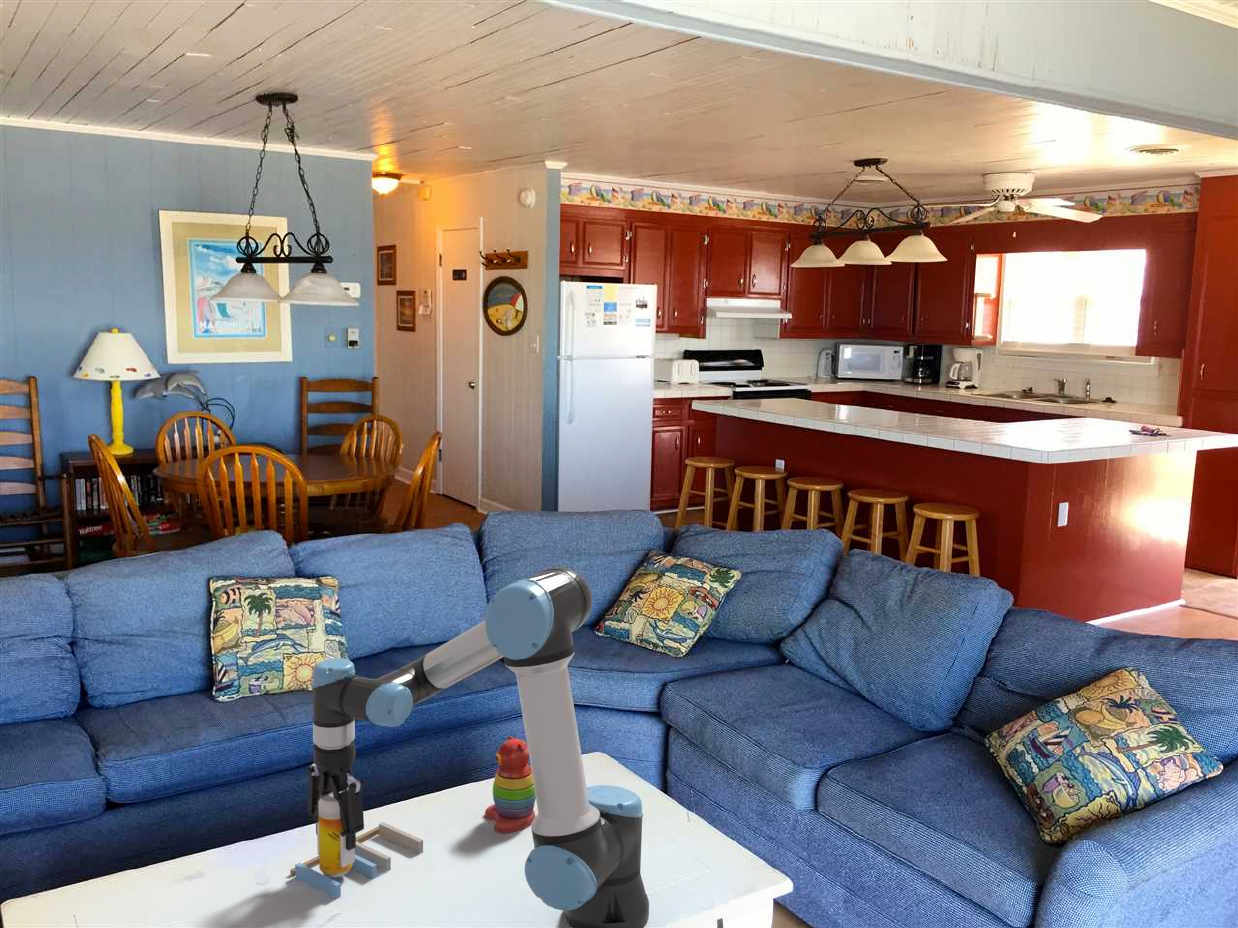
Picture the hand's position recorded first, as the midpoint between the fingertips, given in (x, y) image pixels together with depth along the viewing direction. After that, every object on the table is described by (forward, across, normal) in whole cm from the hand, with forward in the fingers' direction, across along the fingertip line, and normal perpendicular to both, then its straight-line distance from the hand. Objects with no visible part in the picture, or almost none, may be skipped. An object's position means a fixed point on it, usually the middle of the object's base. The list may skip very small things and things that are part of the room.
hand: (336, 857), depth 192 cm
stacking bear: (+4, -11, -38) cm, 40 cm away
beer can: (+3, 0, 0) cm, 3 cm away
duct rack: (+4, 0, -6) cm, 7 cm away
